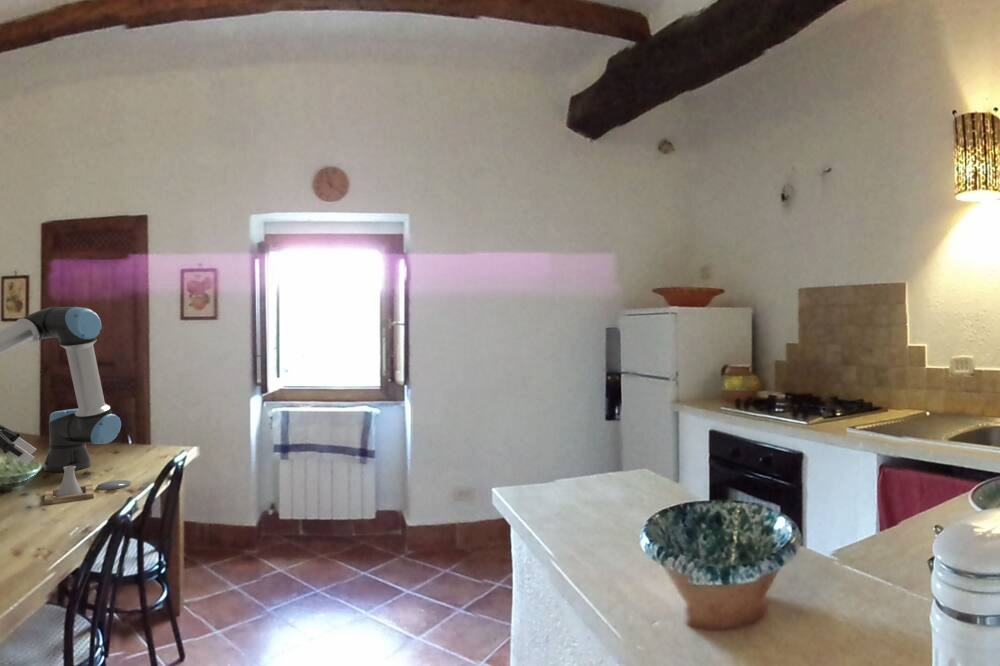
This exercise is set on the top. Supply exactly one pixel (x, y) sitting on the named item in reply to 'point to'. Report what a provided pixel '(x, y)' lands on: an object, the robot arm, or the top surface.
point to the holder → (51, 500)
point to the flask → (69, 483)
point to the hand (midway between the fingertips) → (32, 456)
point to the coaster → (113, 485)
